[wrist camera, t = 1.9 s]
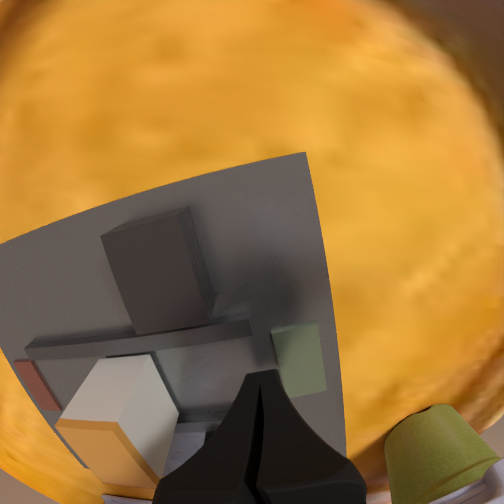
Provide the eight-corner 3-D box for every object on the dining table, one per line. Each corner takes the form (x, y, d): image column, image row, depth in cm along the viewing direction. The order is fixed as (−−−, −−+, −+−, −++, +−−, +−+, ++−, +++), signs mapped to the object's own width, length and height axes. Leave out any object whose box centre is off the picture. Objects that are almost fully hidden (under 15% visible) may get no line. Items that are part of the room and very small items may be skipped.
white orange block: (130, 415, 15) (102, 482, 10) (99, 359, 14) (54, 426, 9) (179, 413, 15) (158, 488, 10) (149, 354, 13) (112, 431, 9)
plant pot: (335, 462, 18) (355, 560, 10) (418, 372, 16) (482, 477, 8) (417, 469, 19) (445, 541, 11) (489, 393, 17) (541, 464, 9)
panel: (90, 455, 19) (76, 485, 16) (-21, 253, 14) (-57, 271, 11) (342, 440, 18) (352, 480, 14) (300, 152, 13) (315, 150, 9)
